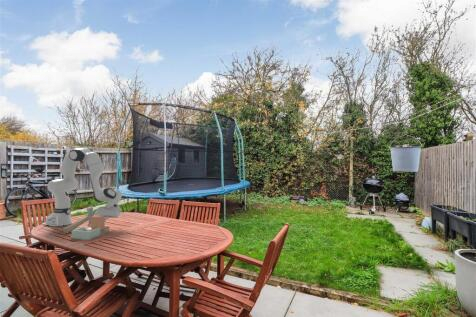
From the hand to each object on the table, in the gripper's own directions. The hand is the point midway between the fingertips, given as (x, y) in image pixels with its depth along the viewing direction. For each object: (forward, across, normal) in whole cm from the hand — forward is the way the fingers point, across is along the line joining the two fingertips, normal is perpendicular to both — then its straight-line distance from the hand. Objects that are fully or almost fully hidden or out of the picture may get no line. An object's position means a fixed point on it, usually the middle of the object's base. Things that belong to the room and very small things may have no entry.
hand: (103, 221), depth 233 cm
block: (+7, 0, -2) cm, 7 cm away
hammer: (+6, -20, +5) cm, 21 cm away
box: (+19, 0, -9) cm, 21 cm away
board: (+11, 0, 0) cm, 11 cm away
